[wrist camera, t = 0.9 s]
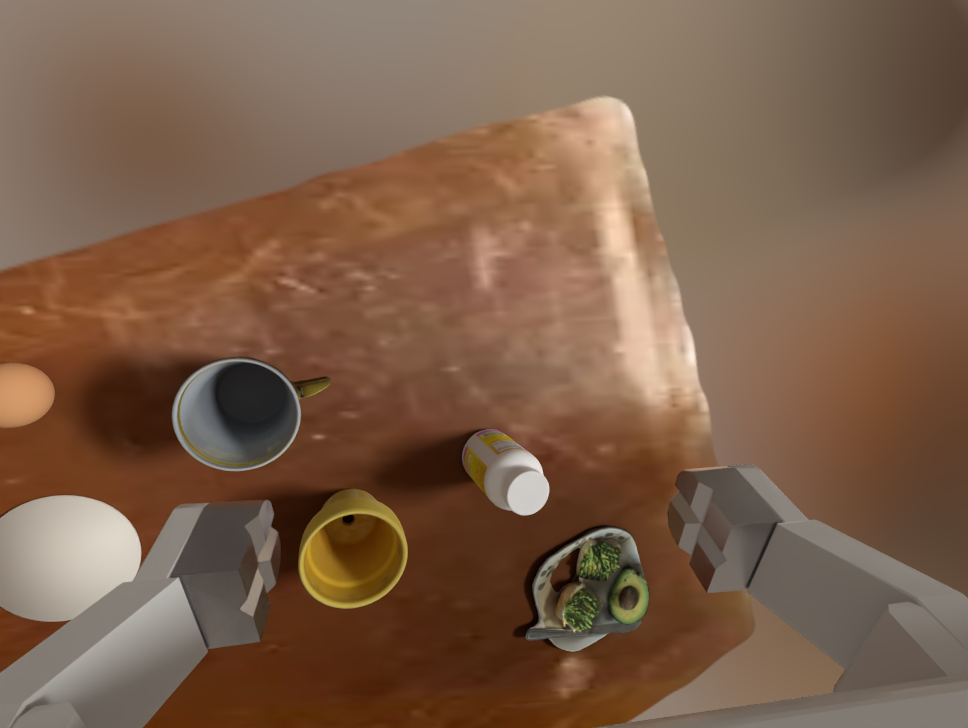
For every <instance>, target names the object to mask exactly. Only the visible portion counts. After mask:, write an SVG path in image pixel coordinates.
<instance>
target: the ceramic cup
mask: <svg viewBox="0 0 968 728" xmlns="http://www.w3.org/2000/svg"><path fill="white" fill-rule="evenodd" d="M330 383H331V380H330V378H329V377H320V378H315V379H310V380H304V381H298V382H292V381H289V379H288V378H287V377H286V376H285V375H284V374H283V373H282V372H281V371H280V370H279V369H277V368H276V367H274V366H272V365H270V364H268V363H266V362H263V361H261V360H258V359H254V358H250V357H231V358H224V359H220V360H216V361H213V362H210V363H208V364H206V365H204V366H202V367H200V368H199V369H197V370H196V371H194V372H193V373H192V374H191V375H190V376H189V377H188V378H187V379H186V380H185V381H184V382H183V384H182V385H181V386H180V388H179V390H178V392H177V394H176V396H175V399H174V402H173V407H172V424H173V428H174V432H175V434H176V436H177V438H178V440H179V442H180V443H181V445H182V446H183V448H184V449H185V450H186V451H187V452H188V453H189V454H190V455H191V456H193V457H194V458H195V459H197V460H198V461H200V462H202V463H204V464H205V465H208V466H210V467H213V468H216V469H221V470H226V471H244V470H250V469H254V468H258V467H261V466H263V465H266V464H268V463H269V462H271V461H273V460H275V459H276V458H278V457H279V456H280V455H281V454H282V453H283V452H284V451H285V450H286V449H287V448H288V447H289V446H290V445H291V443H292V442H293V440H294V438H295V436H296V434H297V432H298V429H299V426H300V421H301V406H300V401H299V400H300V399H301V398H304V397H308V396H312V395H314V394H316V393H318V392H320V391H322V390H324V389H325V388H326V387H328V386H329V385H330Z"/></svg>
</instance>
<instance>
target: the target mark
mask: <svg viewBox="0 0 968 728" xmlns="http://www.w3.org/2000/svg"><path fill="white" fill-rule="evenodd" d="M140 562H141V544H140V540H139V537H138V534H137V532H136V530H135V528H134V527H133V525H132V524H131V522H130V521H129V520H128V519H127V518H126V517H125V516H124V515H123V514H122V513H121V512H119V511H118V510H117V509H115V508H114V507H112V506H110V505H108V504H106V503H104V502H102V501H99V500H96V499H93V498H88V497H84V496H76V495H56V496H48V497H43V498H39V499H36V500H32V501H29V502H27V503H24V504H22V505H20V506H18V507H16V508H14V509H13V510H11V511H9V512H8V513H6V514H5V515H4V516H2V517H1V518H0V606H1V607H2V608H4V609H5V610H7V611H9V612H11V613H13V614H15V615H18V616H21V617H24V618H28V619H31V620H38V621H51V622H55V621H67V620H73V619H74V618H75V617H77V616H78V615H79V614H81V613H82V612H83V611H85V610H86V609H87V608H89V607H90V606H91V605H93V604H94V603H95V602H97V601H98V600H100V599H101V598H102V597H104V596H105V595H106V594H108V593H109V592H110V591H112V590H113V589H114V588H116V587H117V586H118V585H120V584H121V583H123V582H131V581H133V579H134V578H135V576H136V574H137V572H138V569H139V566H140Z"/></svg>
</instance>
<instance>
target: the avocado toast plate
mask: <svg viewBox="0 0 968 728" xmlns="http://www.w3.org/2000/svg"><path fill="white" fill-rule="evenodd" d="M577 548H580V552H579V555H578V560H577V567H576V574H575V577H574V578H573V579H572V580H571V582H570V583H569V584H567V585H564V586H563V587H562V589H561V590H560V592H555V591H554V589H553V588H552V586H551V584H550V578H551V575H552V573H553V571H554V570H555V568H556V567H557V565H558V564H559V563H560V561H561V560H562V559H563V558H564V557H565V556H566V555H568V554H569V553H571V552H572V551H573V550H575V549H577ZM532 590H533V595H534V600H535V605H536V607H537V611H538V617H539V620H538V623H537V624H536V625H535V626H533V627H531V628H529V629H528V630H527V631H526V634H525V637H526V639H527V640H540V639H549V640H550V641H551V642H552V643H553V644H554V645H555V646H557V647H559V648H561V649H564V650H567V651H578V650H581V649H583V648H585V647H587V646H589V645H590V644H592V643H594V642H596V641H597V640H599V639H600V638H602V637H604V636H605V635H607V634H608V633H614V632H618V633H622V632H627V631H632V630H634V629H636V628H637V627H638V626H639V625H640V624H641V621H640V620H641V618H642V617H643V616H644V615H645V613H646V611H647V608H648V604H649V588H648V584H647V581H646V579H645V578H644V573H643V570H642V566H641V562H640V560H639V555H638V551H637V547H636V544H635V541H634V538H633V536H632V535H631V533H630V532H628V531H627V530H624V529H622V528H619V527H616V526H603V527H599V528H595V529H592V530H590V531H588V532H586V533H585V534H584V535H583V536H581V537H580V538H578V539H576V540H575V541H573V542H571V543H569V544H567V545H565V546H564V547H562V548H561V549H560V550H558V551H557V552H556V553H555V554H553V555H552V556H550V557H548V558H547V559H546V560H545V562H544V563H543V564H542V565H541V567H540V568H539V570H538V572H537V574H536V576H535V579H534V581H533V584H532Z"/></svg>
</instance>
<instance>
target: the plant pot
mask: <svg viewBox="0 0 968 728" xmlns="http://www.w3.org/2000/svg"><path fill="white" fill-rule="evenodd" d="M351 514H352V515H353V516H354V520H353V521H352V522H351V523H346V522H344V521H343V517H344V516H346V515H351ZM407 555H408V550H407V542H406V538H405V534H404V531H403V529H402V526H401V524H400V522H399V520H398V518H397V517H396V515H395V514H394V513H393V511H392V510H391V509H389V508H388V507H387V506H385V505H384V504H382V503H381V502H378V501H376V500H375V498H374V497H373V496H372V495H370V494H369V493H367V492H366V491H363V490H359V489H346V490H342V491H340V492H337V493H336V494H334V495H333V496H331V497H330V498H329V499H328V500H327V501H326V502H325V504H324V505H323V507H322V509H321V511H319V512H318V513H317V514H316V515H315V516H314V517H313V518H312V520H311V521H310V522H309V524H308V525H307V527H306V529H305V531H304V534H303V536H302V540H301V544H300V550H299V558H298V569H299V575H300V578H301V581H302V583H303V585H304V587H305V588H306V590H307V591H308V592H309V594H310V595H311V596H313V597H314V598H315V599H316V600H318V601H319V602H321V603H323V604H325V605H328V606H331V607H335V608H356V607H361V606H365V605H367V604H370V603H372V602H374V601H376V600H378V599H380V598H381V597H383V596H384V595H385V594H387V593H388V592H389V591H390V590H391V589H392V588H393V587H394V586H395V585H396V583H397V582H398V580H399V579H400V577H401V575H402V573H403V571H404V569H405V565H406V562H407Z"/></svg>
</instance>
